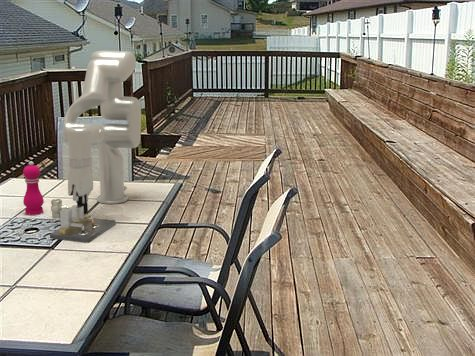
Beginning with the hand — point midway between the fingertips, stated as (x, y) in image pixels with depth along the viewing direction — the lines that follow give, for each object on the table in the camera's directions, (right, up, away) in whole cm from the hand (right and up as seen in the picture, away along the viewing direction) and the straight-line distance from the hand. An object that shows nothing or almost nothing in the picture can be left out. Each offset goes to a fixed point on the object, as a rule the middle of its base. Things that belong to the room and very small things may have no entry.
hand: (82, 213), depth 204 cm
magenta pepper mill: (-22, -1, +15) cm, 27 cm away
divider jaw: (+1, -4, -4) cm, 5 cm away
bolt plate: (+2, -6, -4) cm, 7 cm away
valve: (-8, -2, +11) cm, 14 cm away
